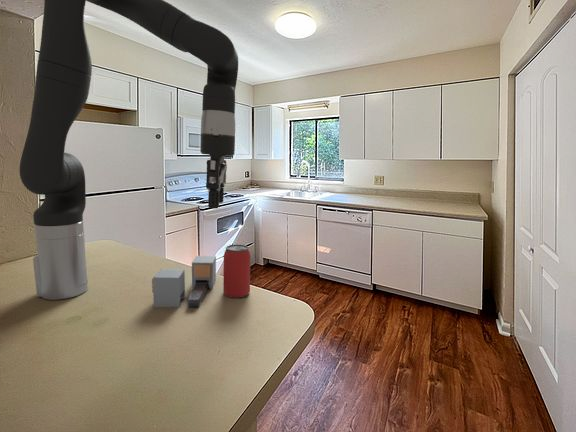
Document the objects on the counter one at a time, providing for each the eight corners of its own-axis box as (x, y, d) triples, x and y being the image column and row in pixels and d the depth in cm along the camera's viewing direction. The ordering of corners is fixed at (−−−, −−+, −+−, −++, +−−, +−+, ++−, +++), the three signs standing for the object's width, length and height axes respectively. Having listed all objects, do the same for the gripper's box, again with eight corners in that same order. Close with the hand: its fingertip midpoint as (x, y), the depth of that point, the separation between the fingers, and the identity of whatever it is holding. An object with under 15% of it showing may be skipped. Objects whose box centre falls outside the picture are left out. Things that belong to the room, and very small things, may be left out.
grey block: (179, 307, 71) (178, 277, 70) (151, 307, 71) (150, 277, 70) (184, 297, 76) (184, 269, 75) (159, 297, 76) (158, 269, 75)
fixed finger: (191, 289, 81) (191, 263, 80) (196, 280, 87) (196, 255, 86) (212, 289, 82) (212, 263, 80) (215, 280, 87) (215, 256, 86)
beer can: (244, 300, 76) (245, 252, 74) (219, 297, 77) (219, 249, 75) (253, 289, 82) (254, 245, 80) (229, 286, 84) (229, 242, 81)
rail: (187, 307, 71) (187, 299, 71) (201, 280, 87) (201, 273, 86) (198, 307, 71) (198, 299, 71) (210, 280, 87) (210, 273, 87)
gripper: (206, 134, 77) (205, 200, 80) (194, 129, 63) (193, 209, 66) (237, 137, 78) (234, 202, 81) (232, 132, 64) (229, 211, 67)
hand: (216, 205), depth 74 cm, fingers open, 8 cm apart
